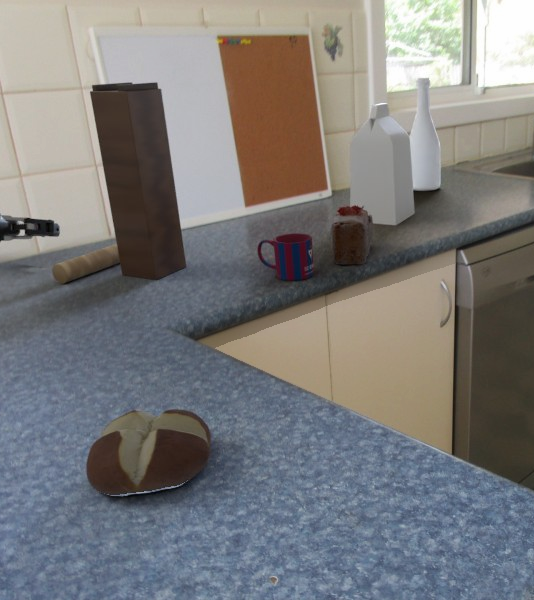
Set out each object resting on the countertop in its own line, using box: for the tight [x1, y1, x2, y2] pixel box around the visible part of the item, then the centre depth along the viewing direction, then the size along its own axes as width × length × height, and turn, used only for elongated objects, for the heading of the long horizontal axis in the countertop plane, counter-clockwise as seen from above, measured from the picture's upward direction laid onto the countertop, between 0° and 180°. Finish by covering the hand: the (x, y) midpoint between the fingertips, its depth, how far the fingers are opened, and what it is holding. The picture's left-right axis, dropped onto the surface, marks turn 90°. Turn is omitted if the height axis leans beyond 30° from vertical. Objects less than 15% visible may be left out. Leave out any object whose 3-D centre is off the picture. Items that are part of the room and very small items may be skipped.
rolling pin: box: [51, 243, 120, 285], centre depth 125 cm, size 20×4×4 cm, turn 156°
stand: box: [89, 81, 187, 281], centre depth 117 cm, size 8×8×33 cm
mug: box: [257, 232, 315, 282], centre depth 118 cm, size 7×10×7 cm
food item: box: [330, 205, 374, 266], centre depth 128 cm, size 14×8×10 cm, turn 1°
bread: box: [85, 408, 212, 495], centre depth 64 cm, size 11×11×5 cm
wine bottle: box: [409, 77, 442, 192], centre depth 185 cm, size 10×10×30 cm
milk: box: [349, 102, 415, 226], centre depth 153 cm, size 12×12×26 cm
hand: (34, 231), depth 113 cm, fingers open, 8 cm apart
